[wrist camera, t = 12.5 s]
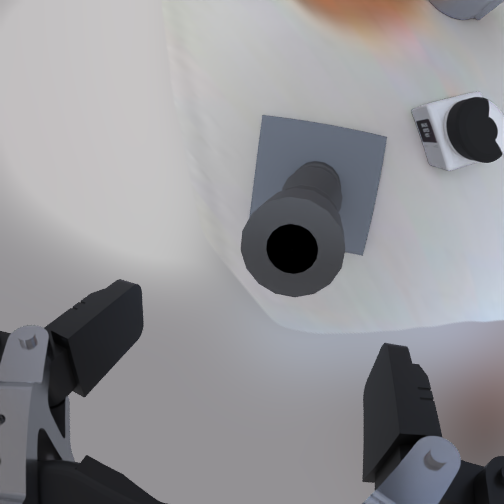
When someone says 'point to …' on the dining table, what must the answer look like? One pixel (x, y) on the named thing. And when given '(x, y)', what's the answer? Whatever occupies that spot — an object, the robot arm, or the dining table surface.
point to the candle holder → (297, 234)
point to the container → (460, 131)
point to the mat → (332, 153)
